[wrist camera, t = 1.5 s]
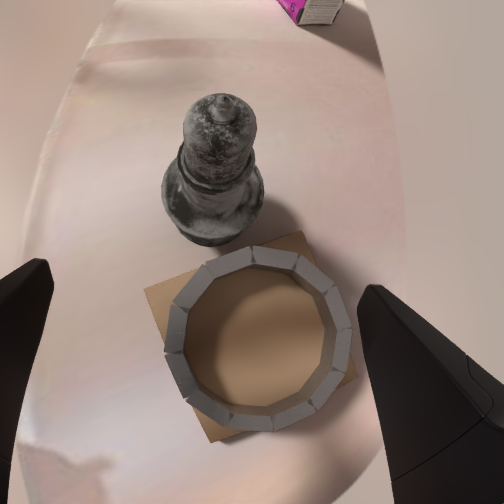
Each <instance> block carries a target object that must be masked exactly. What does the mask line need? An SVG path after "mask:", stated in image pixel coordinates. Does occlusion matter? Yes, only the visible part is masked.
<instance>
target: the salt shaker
mask: <svg viewBox="0 0 504 504" xmlns="http://www.w3.org/2000/svg"><path fill="white" fill-rule="evenodd" d="M256 132H257V123H256V116H255V114H254V112H253V110H252V109H251V107H250V106H249V105H248V104H247V103H246V102H244V101H243V100H242V99H240V98H238V97H236V96H233V95H230V94H225V93H218V94H212V95H208V96H205V97H203V98H201V99H199V100H198V101H197V102H195V103H194V104H193V105H192V106H191V107H190V109H189V110H188V112H187V114H186V117H185V120H184V123H183V135H184V141H183V142H182V144H181V146H180V148H179V151H178V155H177V157H176V158H175V159H174V160H173V161H172V162H171V164H170V165H169V167H168V169H167V170H166V172H165V174H164V178H163V182H162V185H161V190H162V201H163V204H164V207H165V211H166V212H167V214H168V215H169V217H170V218H171V220H172V221H173V223H175V225H176V227H177V228H178V230H179V231H180V233H181V234H183V235H184V236H185V237H186V238H187V239H188V240H190V241H192V242H194V243H197V244H199V245H205V246H218V245H222V244H225V243H228V242H230V241H231V240H233V239H234V238H236V237H237V236H238V235H239V234H240V233H241V232H242V231H243V229H245V228H246V227H248V226H249V225H250V224H251V222H252V221H253V220H254V219H255V218H256V217H257V215H258V213H259V211H260V208H261V206H262V204H263V197H264V185H263V179H262V177H261V174H260V172H259V169H258V168H257V166H256V165H255V153H254V150H253V147H252V146H253V143H254V140H255V137H256Z"/></svg>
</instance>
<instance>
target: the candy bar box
mask: <svg viewBox="0 0 504 504" xmlns="http://www.w3.org/2000/svg"><path fill="white" fill-rule="evenodd" d="M277 1H278V2H279V4H280V5H281V6H282V7H283V9H284V10H285V11H286V12H287V13H288V15H289V16H290V17H291V19H292V20H293V21H294V22H295V24H296V25H329V24H333V22H334V20H335V18H336V16H337V14H338V12H339V10H340V8H341V6H342V4H343V2H344V0H277Z"/></svg>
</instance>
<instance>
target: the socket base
mask: <svg viewBox="0 0 504 504" xmlns="http://www.w3.org/2000/svg"><path fill="white" fill-rule="evenodd" d="M334 283H335V282H334V281H332V280H331V279H330V278H329V277H328V276H326V275H325V274H324V273H323V272H322V271H320V270H319V269H318V268H317V266H316V263H315V261H314V259H313V256H312V254H311V251H310V249H309V246H308V244H307V242H306V239H305V237H304V234H303V232H302V230H301V231H298V232H295V233H293V234H290V235H287V236H284V237H282V238H279V239H276V240H274V241H271V242H268V243H266V244H263V245H260V246H254V245H253V246H252V248H250V246H248V247H245V248H242V249H239V250H237V251H234V252H231V253H229V254H226V255H223V256H220V257H218V258H215V259H212V260H210V261H207V262H205V266H204V265H203V264H202V265H201V267H200V268H198V269H196V270H193V271H190V272H187V273H185V274H182V275H179V276H177V277H174V278H171V279H169V280H166V281H163V282H161V283H158V284H155V285H153V286H150V287H147V288H145V289H144V291H145V294H146V297H147V300H148V302H149V305H150V308H151V311H152V313H153V316H154V318H155V321H156V324H157V326H158V329H159V331H160V334H161V336H162V339H163V341H164V344H165V348H164V352H166V354H165V358H166V361H167V363H168V365H169V368H170V370H171V372H172V375H173V377H174V379H175V381H176V383H177V386H178V388H179V390H180V392H181V394H182V397H183V399H184V398H186V402H187V403H189V404H190V405H192V407H193V409H194V411H195V413H196V415H197V417H198V420H199V422H200V424H201V426H202V428H203V430H204V431H205V433H206V435H207V437H208V439H209V441H210V443H213V442H216V441H219V440H222V439H224V438H227V437H230V436H233V435H235V434H238V433H240V432H243V431H246V430H250V431H266V432H272V431H273V428H274V429H275V431H277V430H280V429H282V428H284V427H286V426H289V425H291V424H293V423H295V422H297V421H299V420H301V419H304V418H306V417H308V416H310V415H312V414H314V413H316V410H315V408H317V409H318V410H319V409H320V408H321V407H322V405H323V404H324V403H325V402H326V400H327V399H328V398H329V396H330V395H331V394H332V392H333V391H334V390H335V389H337V388H338V387H340V386H342V385H344V384H346V383H348V382H350V381H351V380H353V379H355V378H357V377H358V375H357V372H356V369H355V366H354V364H353V361H352V358H351V355H350V352H349V351H350V344H351V337H352V329H347V328H349V327H351V326H352V324H351V321H350V318H349V316H348V313H347V310H346V308H345V305H344V302H343V300H342V297H341V295H340V292H339V289H338V287H337V285H336V286H333V285H334ZM314 407H315V408H314Z"/></svg>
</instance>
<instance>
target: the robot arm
mask: <svg viewBox="0 0 504 504" xmlns="http://www.w3.org/2000/svg"><path fill="white" fill-rule="evenodd" d="M53 291H54V281H53V277H52V274H51V270H50V267H49V263H48V261H47V260H45V259H40V258H34V259H32V260H30V261H29V262H27V263H25V264H24V265H22V266H21V267H19V268H17V269H16V270H14V271H13V272H11V273H10V274H8V275H7V276H5V277H4V278H2V279H1V280H0V504H7V499H8V488H9V478H10V470H11V461H12V454H13V448H14V442H15V437H16V431H17V426H18V421H19V417H20V412H21V408H22V403H23V399H24V395H25V391H26V387H27V384H28V380H29V376H30V373H31V369H32V366H33V363H34V359H35V356H36V353H37V350H38V347H39V344H40V340H41V337H42V334H43V330H44V326H45V322H46V317H47V313H48V310H49V306H50V302H51V298H52V295H53ZM357 316H358V322H359V328H360V334H361V340H362V347H363V353H364V358H365V362H366V366H367V370H368V374H369V378H370V382H371V386H372V391H373V395H374V399H375V403H376V408H377V412H378V417H379V421H380V426H381V431H382V435H383V440H384V445H385V450H386V456H387V461H388V466H389V472H390V477H391V482H392V483H391V484H392V491H393V497H394V504H504V385H503V384H502V383H501V382H500V381H498V380H497V379H495V378H494V377H493V376H492V375H491V374H489V373H488V372H487V371H486V370H484V369H483V368H482V367H481V366H480V365H478V364H477V363H476V362H475V361H474V360H473V359H472V358H470V357H469V356H468V355H466V354H465V352H463V351H462V350H461V349H460V348H459V347H457V346H456V345H455V344H454V343H453V342H451V341H450V340H449V339H448V338H447V337H446V336H444V335H443V334H442V333H441V332H440V331H438V330H437V329H436V328H435V327H433V326H432V325H431V324H430V323H429V322H427V321H426V320H425V319H424V318H423V317H421V316H420V315H419V314H418V313H416V312H415V311H414V310H413V309H411V308H410V307H409V306H408V305H406V304H405V303H404V302H403V301H401V300H400V299H399V298H398V297H396V296H395V295H394V294H392V293H391V292H390V291H389V290H387V289H386V288H385V287H384V286H382V285H378V284H370V285H368V286H367V287H366V288H365V291H364V293H363V295H362V297H361V299H360V301H359V303H358V306H357Z"/></svg>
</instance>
